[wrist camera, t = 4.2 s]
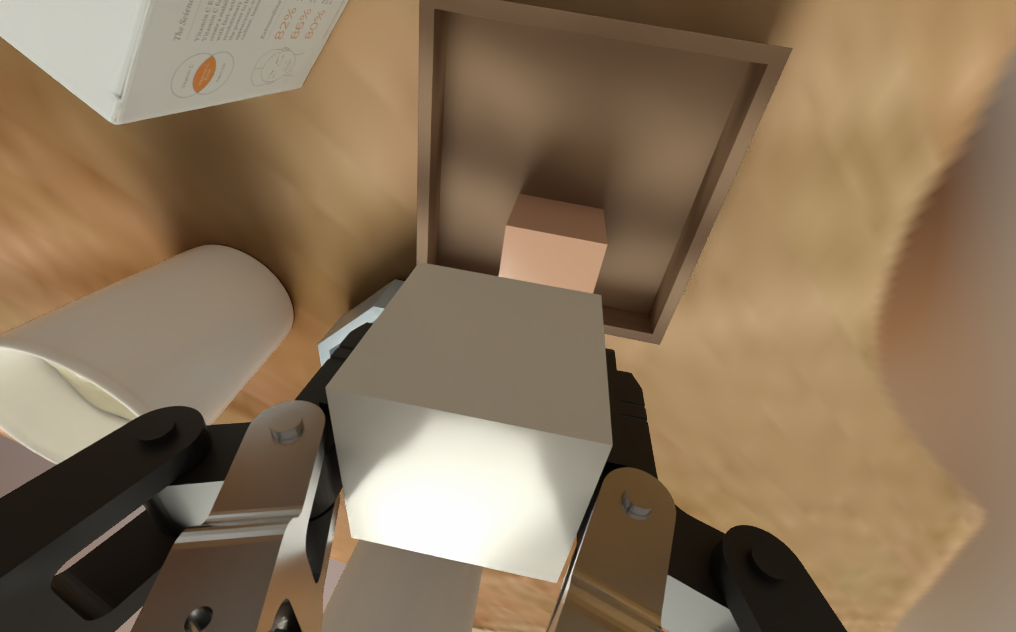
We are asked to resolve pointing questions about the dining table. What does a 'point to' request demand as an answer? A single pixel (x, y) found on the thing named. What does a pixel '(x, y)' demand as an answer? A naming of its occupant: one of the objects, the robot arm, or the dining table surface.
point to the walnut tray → (583, 139)
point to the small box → (170, 49)
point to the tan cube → (554, 243)
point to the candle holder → (141, 349)
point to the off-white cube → (475, 420)
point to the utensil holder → (402, 592)
